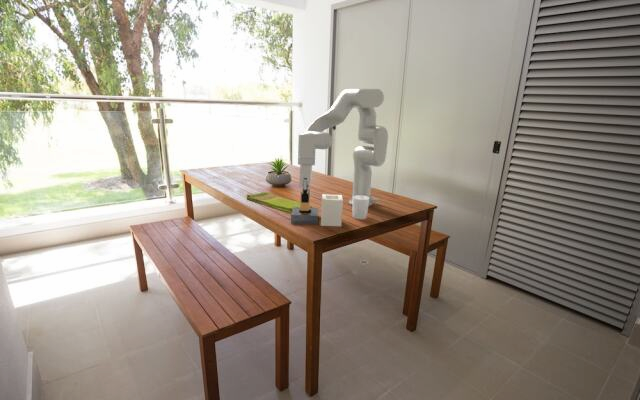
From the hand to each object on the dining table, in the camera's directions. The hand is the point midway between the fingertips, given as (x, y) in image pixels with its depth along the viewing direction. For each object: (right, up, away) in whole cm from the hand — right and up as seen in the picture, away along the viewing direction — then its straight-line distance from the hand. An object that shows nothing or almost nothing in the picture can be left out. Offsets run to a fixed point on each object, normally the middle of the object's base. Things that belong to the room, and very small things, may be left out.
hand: (305, 200), depth 149 cm
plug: (0, -4, +1) cm, 4 cm away
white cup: (+26, -8, +9) cm, 28 cm away
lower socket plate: (0, -9, +3) cm, 9 cm away
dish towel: (-16, -2, +26) cm, 30 cm away
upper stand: (+12, -10, 0) cm, 15 cm away
